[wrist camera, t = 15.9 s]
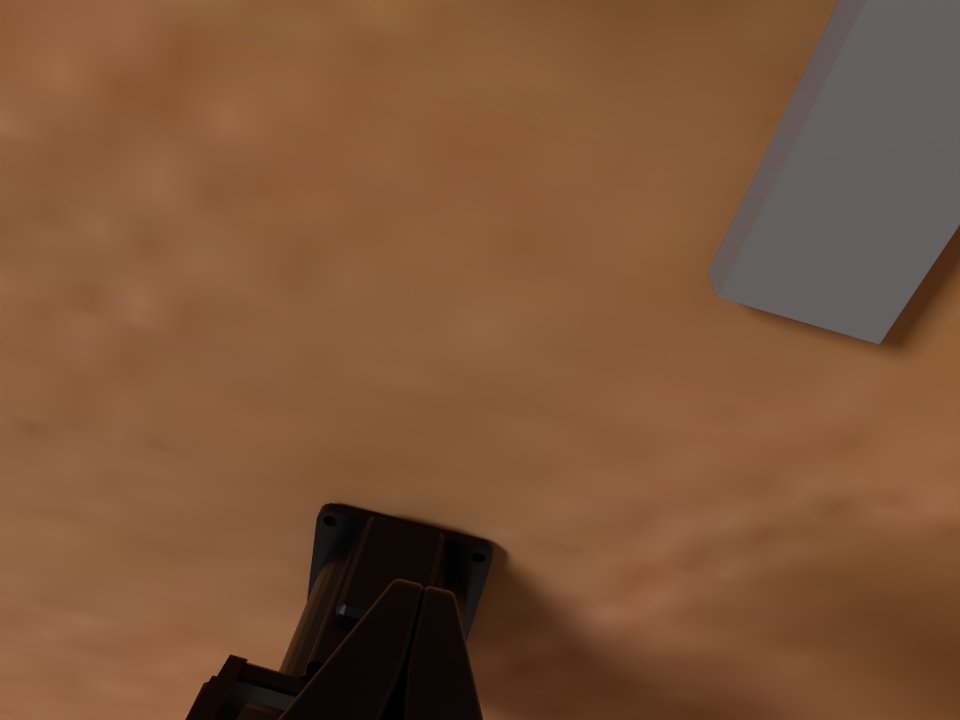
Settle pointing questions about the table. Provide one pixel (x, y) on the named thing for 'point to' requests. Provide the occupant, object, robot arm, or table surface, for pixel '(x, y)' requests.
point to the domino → (855, 174)
